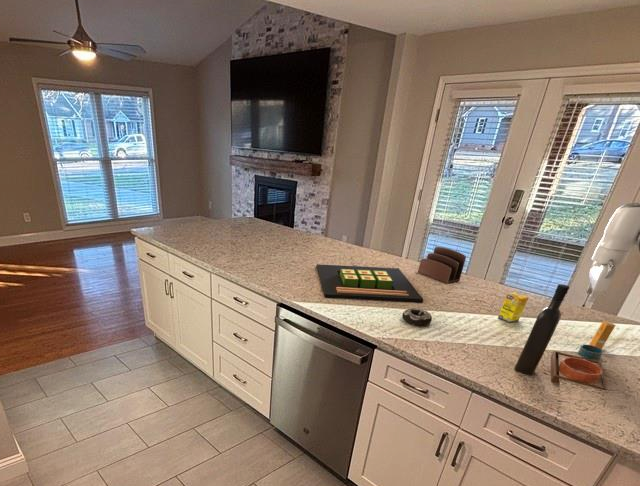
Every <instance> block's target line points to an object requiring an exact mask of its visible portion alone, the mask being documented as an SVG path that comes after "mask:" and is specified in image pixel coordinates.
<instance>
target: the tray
mask: <svg viewBox="0 0 640 486" xmlns="http://www.w3.org/2000/svg"><path fill="white" fill-rule="evenodd" d="M559 355H561V356H565V357H573V358H580V359H584V360H587V361H590V362H592V363H594V364H596V365H597V364H598V366H599V367H600V368H601V369H602V370H603V365H602V362H601V361H599V360H591V359H587V358H584V357H582V356H577V355H573V354H569V353H564V352H561V351H557V350H553V351H552V354H551V355H550V382H551V383H555V384H558V385H559V384H561V383H560V379H561V380H565V381H568V382H573V383H576V384H580V385H583V386H586V387H592V388H594V389H599V390H602V391H607V384H606V383H607V382H606V380H605V375H604V372H603V373H602V375H601V377H600V379H601V384H602V386H600V385H596V384H593V383H585V382H581V381H577V380H573V379H570V378H568V377H566V376H562V375H560V374H559V375H558V374H557V369H558V368H559V366H560V360H559Z"/></svg>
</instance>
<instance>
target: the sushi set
mask: <svg viewBox="0 0 640 486" xmlns="http://www.w3.org/2000/svg"><path fill="white" fill-rule="evenodd" d="M316 272H317V275H318V279H319V283H320V286H321V290H322V293H323V297H324V298H325V299H344V300H363V301H380V302H381V301H382V302H404V303H421V304H422V303H423V302H424V298H423V297H422V296H421V294H420V293H419V292H418V290H417V289H416V288H415V287H414V286H413V284H412V283H411V282H410V281H409V279H408V278H407V277H406V276H405V274H404V273H403V272H402V270H401V269H400V268H399V267H381V266H380V267H379V266H362V265H361V266H359V265H339V264H321V263H320V264H317V263H316Z"/></svg>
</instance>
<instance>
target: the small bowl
mask: <svg viewBox="0 0 640 486" xmlns="http://www.w3.org/2000/svg"><path fill="white" fill-rule="evenodd" d="M577 354H578V355H579V357H582V358H586V359H590V360H594V361H599V360H600V358H601V357H602V355H603V354H604V350H602V349H600V348H598V347H595V346H592V345H590V344H582V345H580V346H579V348H578V351H577Z"/></svg>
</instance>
